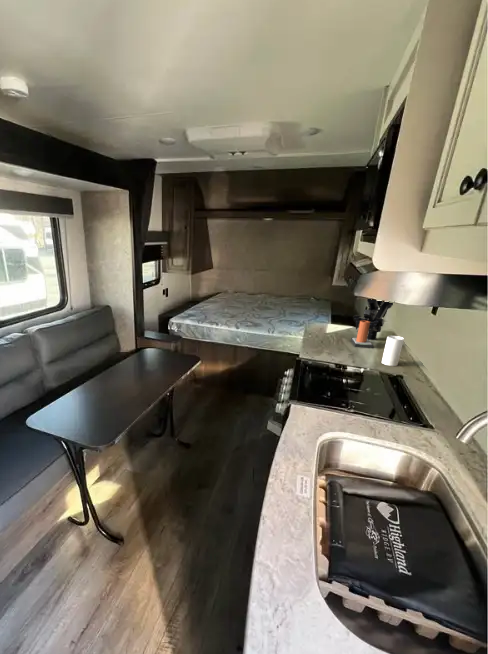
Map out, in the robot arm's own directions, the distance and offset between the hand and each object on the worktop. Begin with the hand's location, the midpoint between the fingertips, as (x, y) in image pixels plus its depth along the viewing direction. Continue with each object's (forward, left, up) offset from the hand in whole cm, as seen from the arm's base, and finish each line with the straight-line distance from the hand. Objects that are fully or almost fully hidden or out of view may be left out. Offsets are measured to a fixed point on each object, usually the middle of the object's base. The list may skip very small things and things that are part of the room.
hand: (363, 330), depth 223 cm
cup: (+34, +9, -11) cm, 37 cm away
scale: (-3, +1, -11) cm, 11 cm away
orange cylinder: (-2, +1, -8) cm, 8 cm away
